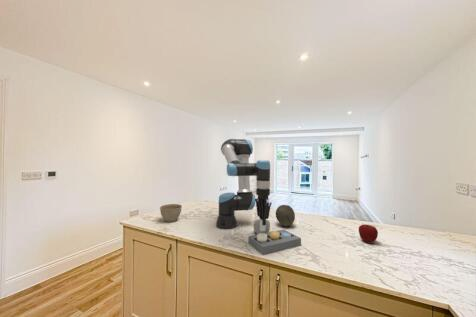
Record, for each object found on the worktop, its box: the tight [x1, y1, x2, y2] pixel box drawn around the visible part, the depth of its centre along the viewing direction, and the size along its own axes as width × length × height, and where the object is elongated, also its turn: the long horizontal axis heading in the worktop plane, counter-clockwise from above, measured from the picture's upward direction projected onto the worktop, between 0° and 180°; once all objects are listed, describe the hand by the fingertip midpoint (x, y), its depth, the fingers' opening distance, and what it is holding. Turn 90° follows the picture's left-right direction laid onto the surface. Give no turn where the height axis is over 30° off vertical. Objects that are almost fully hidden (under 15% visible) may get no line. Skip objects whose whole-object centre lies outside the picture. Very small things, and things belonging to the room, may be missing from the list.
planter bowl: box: [159, 203, 183, 223], centre depth 152 cm, size 16×16×11 cm
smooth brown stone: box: [275, 204, 296, 227], centre depth 143 cm, size 14×14×15 cm
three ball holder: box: [247, 229, 302, 256], centre depth 112 cm, size 15×26×4 cm, turn 116°
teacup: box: [252, 218, 271, 235], centre depth 129 cm, size 14×11×8 cm
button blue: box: [281, 231, 292, 238], centre depth 115 cm, size 6×6×4 cm
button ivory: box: [256, 233, 267, 244], centre depth 108 cm, size 6×6×4 cm
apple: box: [358, 224, 379, 244], centre depth 116 cm, size 10×10×10 cm
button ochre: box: [269, 230, 279, 241], centre depth 112 cm, size 6×6×4 cm
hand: (262, 230), depth 108 cm, fingers closed
